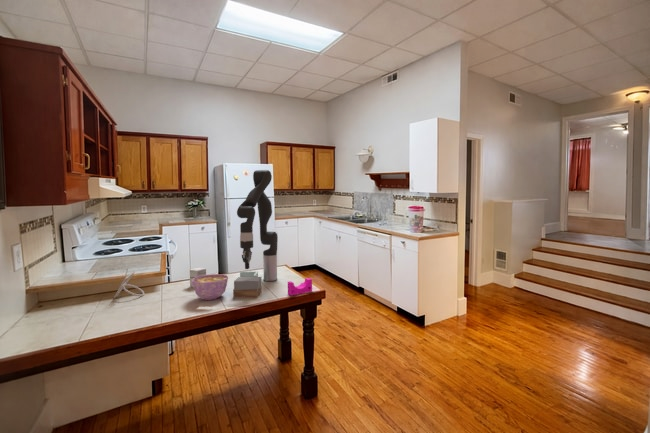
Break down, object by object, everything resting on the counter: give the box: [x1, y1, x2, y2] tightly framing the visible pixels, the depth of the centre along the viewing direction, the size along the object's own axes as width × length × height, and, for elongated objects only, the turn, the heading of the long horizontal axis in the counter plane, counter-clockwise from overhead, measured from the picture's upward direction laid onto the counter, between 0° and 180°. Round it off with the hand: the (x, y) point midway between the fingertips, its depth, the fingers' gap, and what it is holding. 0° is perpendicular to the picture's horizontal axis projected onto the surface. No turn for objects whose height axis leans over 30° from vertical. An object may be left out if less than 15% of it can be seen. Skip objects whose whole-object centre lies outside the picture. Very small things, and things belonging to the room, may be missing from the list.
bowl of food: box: [192, 273, 229, 301], centre depth 178 cm, size 20×20×12 cm
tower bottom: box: [232, 285, 262, 299], centre depth 182 cm, size 10×14×5 cm
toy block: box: [287, 277, 313, 296], centre depth 188 cm, size 15×6×8 cm, turn 124°
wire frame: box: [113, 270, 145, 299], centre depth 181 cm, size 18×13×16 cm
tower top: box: [233, 276, 263, 290], centre depth 183 cm, size 10×14×5 cm
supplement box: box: [189, 267, 207, 289], centre depth 199 cm, size 7×7×13 cm
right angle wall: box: [239, 271, 259, 277], centre depth 206 cm, size 12×12×8 cm
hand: (247, 268), depth 182 cm, fingers closed
